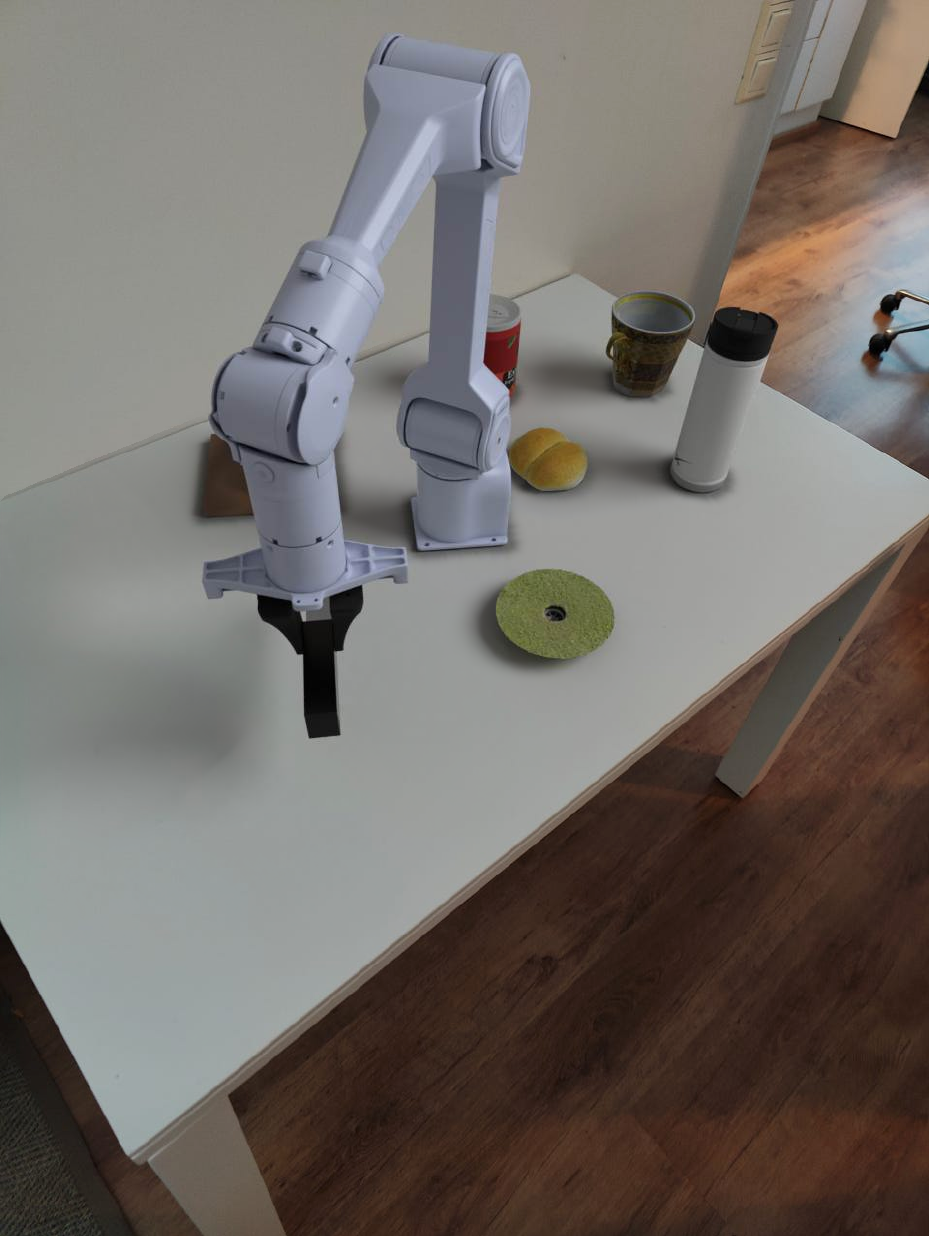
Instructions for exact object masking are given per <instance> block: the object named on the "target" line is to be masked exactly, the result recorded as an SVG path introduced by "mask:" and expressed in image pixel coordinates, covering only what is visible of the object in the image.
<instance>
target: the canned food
mask: <svg viewBox="0 0 929 1236" xmlns="http://www.w3.org/2000/svg"><path fill="white" fill-rule="evenodd" d="M521 328H522V309H521V307H520V305H519V304H518V303H517V302H515V301H514V300H513V299H511V298H509V297H505V296H502V295H499V294H492V293H490V295H489V306H488V317H487V327H486V338H485V349H484V359H483V363H484V365H485V366H486V367H487V368H488V369H489V370H490V371H491V372H492V373H493V374H494V375H495V376H496V377H497V378H498V379H499V380H500V381H501V382H502V383H503V384H504V385H505V386H506V387H507V388H508V390H509V398H510V399H511V397H512V396H513V394H514V391H515V388H516V379H517V369H518V359H519V351H520V350H519V349H520V340H521V339H520V338H521Z"/></svg>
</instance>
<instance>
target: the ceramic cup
mask: <svg viewBox="0 0 929 1236" xmlns="http://www.w3.org/2000/svg"><path fill="white" fill-rule="evenodd" d="M610 321H611V336H610V337H609V339H608V341H607V345H606V347H605V355H606V357H607V358H608V359H610V360H611V361H612V379H613V385H614V389H616V390H617V391H619V392H621V393H622V394H624V395H626V396H628V397H631V398H652V397H653V396H655V395H657V394H658V393H660V392H662V391H663V390H664V389H665V388H666V386H667V383H668V382H669V379H670V377H671V375H672V372H673V371H674V368H675V366H676V364H677V362H678V360H679V357H680V355H681V353H682V351H683V349H684V347H685V345H686V343H687V342H688V339H689V337H690V335H691V333H692V330H693V326H694V324H695V323H696V312H695V310H694V308H693V307H692V306H691V305H690V303H688V302H687V301H685V300H684V299H681V298H679V297H678V296H675V295H672V294H671V293H670V294H669V293H666V292H661V291H656V290H655V291H654V290H637V291H631V292H628V293H625V294H622V295H620V296H618V297H617V298H616V299H615V300H614V301H613V303H612V305H611V320H610ZM611 351H612V353H611Z"/></svg>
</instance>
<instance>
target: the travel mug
mask: <svg viewBox="0 0 929 1236" xmlns="http://www.w3.org/2000/svg"><path fill="white" fill-rule="evenodd" d="M778 330H779V323H778V321H777V320H776V319H775V318H774V317H773V316H771V315H769V314H767V313H764V312H762V311H758V312H756V311H752V310H748V309H741V306H726V307H721V308H719V309H717V310H716V311H715V312H714V314H713V318H712V322H711V324H710V328H709V332H708V336H707V337H706V340H705V345H704V348H703V352H702V354H701V358H700V362H699V365H698V369H697V372H696V376H695V380H694V383H693V386H692V391H691V394H690V397H689V401H688V405H687V407H686V412H685V415H684V419H683V423H682V426H681V429H680V433H679V436H678V440H677V444H676V446H675V451H674V454H673V457H672V461H671V464H670V469H669V470H670V471H669V472H670V473H669V474H670V476H671V478H672V479H673V481H674V482H675V483H676V484H677V485H679V486H680V487H682V488H683V489H685V490H688V491H691V492H695V493H711V492H714V491H717V490H719V489H720V488H721V487H722V486H723V485H724V484H725V482H726V479H727V476H728V473H729V471H730V468H731V465H732V462H733V459H734V456H735V453H736V451H737V448H738V445H739V443H740V439H741V436H742V433H743V431H744V428H745V425H746V422H747V419H748V417H749V414H750V411H751V408H752V405H753V402H754V400H755V397H756V394H757V391H758V388H759V385H760V384H761V383H760V382H761V380H762V376H763V374H764V371H765V368H766V365H767V362H768V359H769V356H770V354H771V349H772V345H773V343H774V341H775V338H776V336H777V332H778Z"/></svg>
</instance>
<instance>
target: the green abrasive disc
mask: <svg viewBox="0 0 929 1236" xmlns="http://www.w3.org/2000/svg"><path fill="white" fill-rule="evenodd" d="M495 617H496V620H497V624H498V625H499V628H500V630H501V631H502V632H503V634H505V637H507V638H508V639H509V641H511V642H512V643H513V644H515V645H516V646H517V647H519V648H521V649H522V650H525V651H527V652H528V653H529V654H532V655H536V656H541V657H546V658H550V659H572V658H577V657H582V656H586V655H588V654H590V653H593V652H594V651H595V650H597V649H598V648H599V647H601V646H602V645H603V644H604V643H605V642H607V640H608V639H609V637H610V636H611V633H612V632H613V630H614V626H615V617H616V616H615V609H614V607H613V604H612V602H611V600H610V599H609V597H608V596H607V594H606V592H605V591H604V590H603V589H602V588H601V587H600V586H599V585H597V584H596V583H595V582H594V581H592V580H590V579H589V578H586V577H585V576H583V575H581V574H580V575H579V574H578V573H575V572H573V571H567V570H563V569H557V568H556V569H555V568H542V569H536V570H531V571H528V572H524V573H521V574H520V575H518V576H517V577H515V578H512V579H511V580H510V581H509V582H508V583H507V584H505V586H504V587H503V588H502V590H501V591H500V592H499V594H498V596H497V600H496V603H495Z"/></svg>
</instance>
